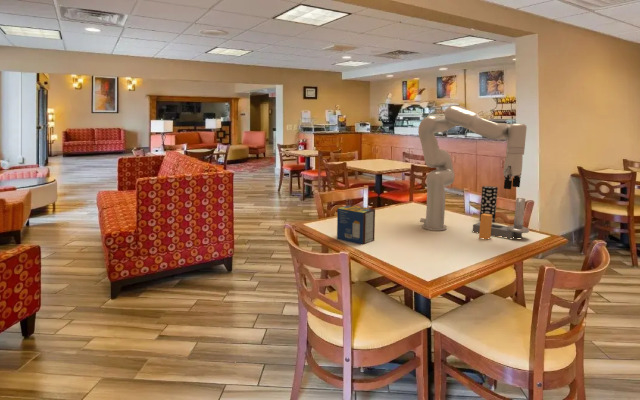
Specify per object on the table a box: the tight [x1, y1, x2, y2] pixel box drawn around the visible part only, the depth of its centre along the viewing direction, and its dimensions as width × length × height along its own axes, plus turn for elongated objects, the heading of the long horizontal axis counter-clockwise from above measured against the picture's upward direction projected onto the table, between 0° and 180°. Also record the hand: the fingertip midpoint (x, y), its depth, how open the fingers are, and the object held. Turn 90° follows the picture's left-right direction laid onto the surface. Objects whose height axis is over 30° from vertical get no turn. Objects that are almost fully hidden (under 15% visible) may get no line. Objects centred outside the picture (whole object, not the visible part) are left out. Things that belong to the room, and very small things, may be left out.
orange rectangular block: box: [478, 213, 493, 240], centre depth 208 cm, size 4×4×12 cm
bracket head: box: [472, 222, 514, 238], centre depth 217 cm, size 20×9×4 cm, turn 45°
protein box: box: [336, 204, 376, 245], centre depth 204 cm, size 10×15×16 cm
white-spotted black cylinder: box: [479, 185, 499, 223], centre depth 245 cm, size 8×8×20 cm
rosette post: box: [507, 197, 530, 238], centre depth 208 cm, size 10×10×20 cm
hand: (511, 187), depth 197 cm, fingers open, 9 cm apart
